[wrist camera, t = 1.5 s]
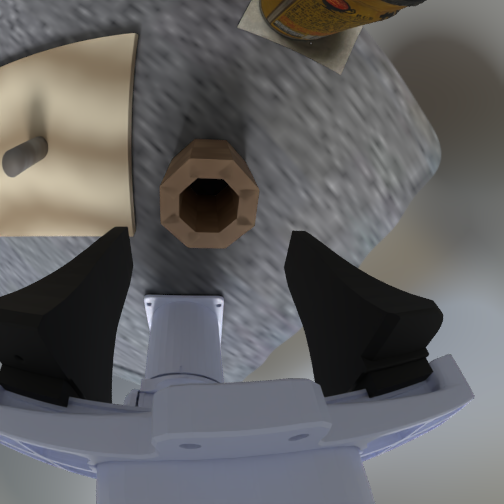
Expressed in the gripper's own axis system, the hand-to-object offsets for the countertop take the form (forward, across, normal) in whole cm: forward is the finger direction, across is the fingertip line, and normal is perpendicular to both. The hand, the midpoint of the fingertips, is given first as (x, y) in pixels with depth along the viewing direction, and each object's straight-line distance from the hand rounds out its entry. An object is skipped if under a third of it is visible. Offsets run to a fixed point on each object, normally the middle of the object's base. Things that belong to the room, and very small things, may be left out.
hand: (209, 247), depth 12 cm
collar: (+10, 0, 0) cm, 11 cm away
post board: (+10, +14, -3) cm, 18 cm away
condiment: (+11, -6, -14) cm, 19 cm away
